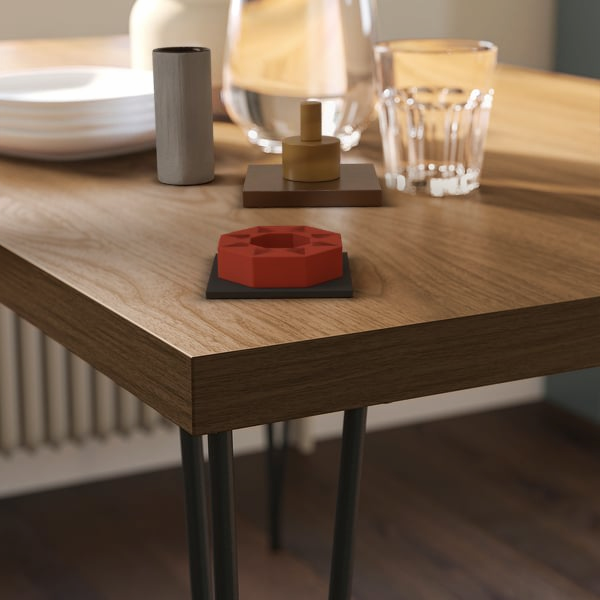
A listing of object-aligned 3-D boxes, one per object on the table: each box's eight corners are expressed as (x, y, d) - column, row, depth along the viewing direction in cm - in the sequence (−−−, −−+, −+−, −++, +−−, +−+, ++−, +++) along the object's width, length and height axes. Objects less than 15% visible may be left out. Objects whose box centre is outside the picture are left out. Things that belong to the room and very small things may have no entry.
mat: (205, 298, 64) (205, 291, 64) (215, 259, 72) (215, 253, 71) (353, 297, 64) (353, 290, 64) (347, 258, 72) (347, 251, 71)
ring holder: (242, 207, 85) (240, 112, 83) (248, 179, 94) (246, 93, 92) (381, 205, 85) (382, 111, 83) (373, 178, 94) (374, 92, 92)
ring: (215, 288, 64) (214, 257, 64) (223, 255, 71) (222, 225, 70) (343, 287, 64) (343, 255, 64) (339, 254, 71) (339, 224, 70)
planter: (180, 188, 91) (175, 53, 88) (146, 179, 95) (140, 49, 92) (226, 179, 94) (222, 48, 91) (191, 171, 98) (186, 45, 94)
